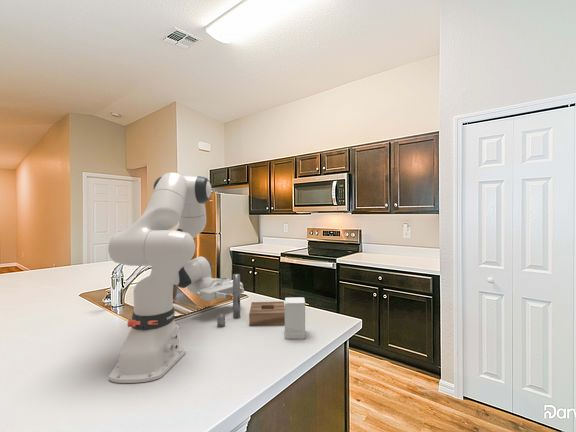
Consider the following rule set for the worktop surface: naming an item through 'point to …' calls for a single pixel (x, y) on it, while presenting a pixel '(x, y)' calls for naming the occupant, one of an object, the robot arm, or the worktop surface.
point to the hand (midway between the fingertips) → (234, 293)
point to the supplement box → (295, 318)
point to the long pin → (236, 296)
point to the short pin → (221, 320)
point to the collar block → (267, 313)
